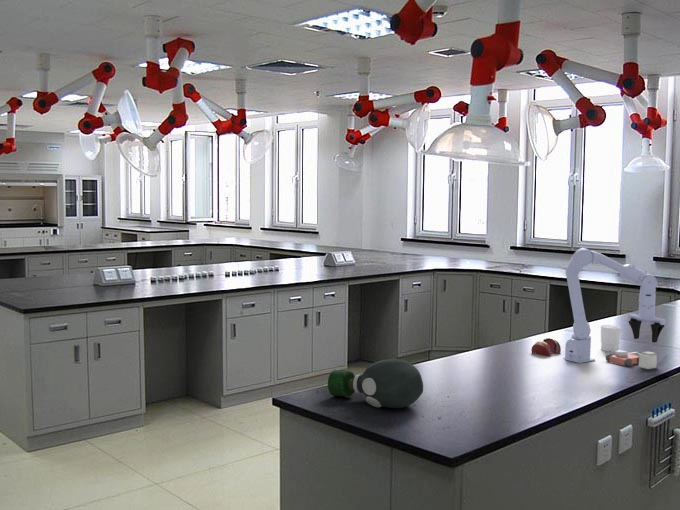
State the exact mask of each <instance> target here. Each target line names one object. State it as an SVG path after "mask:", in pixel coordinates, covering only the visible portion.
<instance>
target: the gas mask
mask: <svg viewBox="0 0 680 510" xmlns="http://www.w3.org/2000/svg"><path fill="white" fill-rule="evenodd" d="M327 390H328V392H329V394H330V395H331V396H332V397H351V396H353V394H355V393H356V394H363V395H364V396H365V402H366V403H367V404H369V405H371V406H372V407H376V408H381V407H382V408H391V409H403V408H407V407H409V406H411V405H412V404H414V403H415V402H417V400H418V399H419V398H420V397H421V396H422V394H423V393H424V382H423V379H422V375H421V373H420V370H419V369H418V368H417V367H416V366H414V365H413V364H411V363H410V362H409V361H406V360H405V359H399V358H398V359H396V358H391V359H388V358H387V359H381V360H378V361H376V362H373V363H372V364H370V366H368V367H366V369H365V371H363V373H362V374H356V375H355V374H354V373H353V371H351V370H336V369H335V370H332V371H331V372H330V374H329V376H328V378H327Z"/></svg>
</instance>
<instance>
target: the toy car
mask: <svg viewBox="0 0 680 510" xmlns="http://www.w3.org/2000/svg"><path fill="white" fill-rule="evenodd" d="M639 354H641V353H639V352H638V351H633V352H628V351H626V350H620V349H619V350H617V351H616V352H614V355H613V354H612V353H606V355H605V360H606V362H609V363H612V364H614V365H615V364H616V365H619V366H624V367H630V366H632V365H636V364H638V365H639Z"/></svg>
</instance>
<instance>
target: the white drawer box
mask: <svg viewBox="0 0 680 510" xmlns="http://www.w3.org/2000/svg"><path fill="white" fill-rule="evenodd" d="M657 356H658V355H657V354H656V352H652V351H642V352H641V353H640V354H639V363H638V367H639V368H641V369H645V370H651V369H656V368H657V360H658V357H657Z"/></svg>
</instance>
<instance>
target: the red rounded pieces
mask: <svg viewBox="0 0 680 510" xmlns="http://www.w3.org/2000/svg"><path fill="white" fill-rule="evenodd" d="M530 349H531V354H534V355H538V356H544V357H551V356H552V353H553V354H559V355H560V354H561V351H562V350H561V349H562V347H561V344H560V343H559V341H557V340H555V339H554V338H552V337H551V338H550V337H548V338H547V337H545V338H544V339H543V341H542V340H540V341H536V342H535V343H534V344H533V345H532V346H531V348H530Z"/></svg>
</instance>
